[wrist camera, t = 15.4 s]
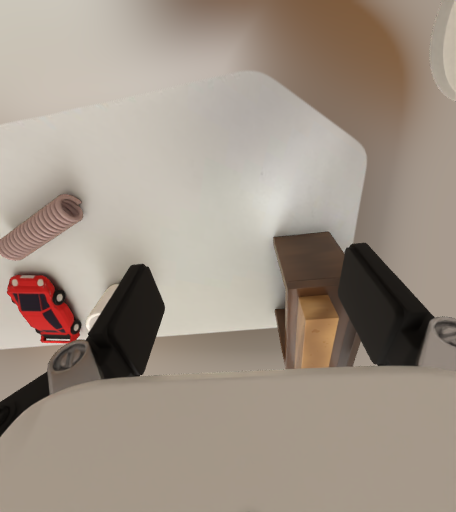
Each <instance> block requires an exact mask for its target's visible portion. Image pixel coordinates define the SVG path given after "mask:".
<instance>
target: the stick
mask: <svg viewBox="0 0 456 512" xmlns="http://www.w3.org/2000/svg"><path fill="white" fill-rule="evenodd" d="M338 320H339V317H338V315H337V312H336V310H335V308H334V306H333V304H332V302H331V300H330V298H329V296H328V295H318V296H305V297H298V312H297V329H296V347H295V365H294V368H295V369H303V368H328V367H329V363H330V358H331V353H332V349H333V344H334V339H335V334H336V330H337V325H338Z"/></svg>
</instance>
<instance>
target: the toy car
mask: <svg viewBox="0 0 456 512" xmlns="http://www.w3.org/2000/svg"><path fill="white" fill-rule="evenodd" d="M7 289H8V291H7V294H8V295H9V296H10V297H11V299H12V302H13V303H15V304H17V306H18V309H19V311H20V312H21V314H22V315H23V317H24V318H25V319H26V320H27V322H28V323H29V324H30V326H31V327H33V328H35V330H36V332H37V333H39V334H41V340H40V341H41V342H42V343H70V342H72V341H75V340H77V338H78V337H79V336H80V334H79V332H80V328H81V323H80V321H78V320H75V321H74V316H73V314H72V312H71V311H70V309H69V307H68V305H67V304H65V303H64V300H65V293H64V291H62V290H57V291H55V288H54V286H53V284H52V283H51V281H50V280H49V279H48V278H47V277H45V276H42V275H15V276H13V277H11V279H10V281H9V285H8V288H7ZM46 338H49V339H70V341H51V340H46Z"/></svg>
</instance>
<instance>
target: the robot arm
mask: <svg viewBox="0 0 456 512" xmlns="http://www.w3.org/2000/svg"><path fill="white" fill-rule="evenodd" d="M338 297H339V299H340V301H341V303H342V305H343V307H344V309H345V311H346V313H347V315H348V317H349V319H350V321H351V323H352V324H353V326H354V328H355V330H356V332H357V334H358V336H359V338H360V340H361V342H362V343H363V346H364V347H365V349H366V351H367V353H368V355H369V357H370V359H371V361H372V362H373V363H374V364H377V365H378V366H356V367H328V368H303V369H281V370H257V371H235V372H213V373H193V374H174V375H154V376H140V375H142V374H143V373H144V371H145V368H146V365H147V362H148V359H149V356H150V353H151V350H152V347H153V344H154V341H155V338H156V335H157V332H158V329H159V326H160V323H161V320H162V317H163V314H164V311H165V305H164V302H163V300H162V298H161V295H160V293H159V290H158V288H157V286H156V283H155V281H154V278H153V276H152V273H151V271H150V269H149V267H146V266H145V265H144V264H137V265H131V266H130V267H129V269H128V271H127V272H126V274H125V275H124V277H123V279H122V280H121V282H120V283H119V285H118V287H117V288H116V290H115V291H114V293H113V295H112V296H111V298H110V299H109V301H108V302H107V304H106V306H105V307H104V309H103V310H102V312H101V314H100V315H99V317H98V318H97V320H96V322H95V323H94V325H93V326H92V328H91V330H90V331H89V333H88V335H89V336H88V337H87V339H86V340H75V341H72V342H70V343H68V344H66V345H64V346H63V347H61V348H60V349H59V350H58V351H57V352H56V353H55V354H54V355H53V356H52V358H51V359H50V361H49V363H48V369H47V372H46V373H44V374H43V375H41V376H40V377H38V378H37V379H35V380H34V381H32V382H30V383H29V384H27V385H26V386H24V387H23V388H21V389H20V390H18V391H17V392H15V393H13V394H12V395H10V396H9V397H7V398H6V399H4V400H3V401H1V402H0V512H456V319H455V318H452V317H443V316H442V317H436V318H435V317H434V316H433V315H432V314H431V313H430V312H429V311H428V310H427V309H426V308H425V307H424V305H423V304H422V303H421V302H420V301H419V300H418V299H417V298H416V297H415V296H414V294H413V293H412V292H411V291H410V290H409V289H408V288H407V287H406V286H405V285H404V284H403V282H402V281H401V280H400V279H399V278H398V277H397V276H396V275H395V274H394V273H393V272H392V271H391V270H390V269H389V268H388V266H387V265H386V264H385V263H384V262H383V261H382V260H381V259H380V258H379V256H378V255H377V254H376V253H375V252H374V251H373V250H372V249H371V248H370V247H369V245H368V244H366V243H358V244H351V245H350V247H349V248H346V250H345V255H344V261H343V266H342V271H341V276H340V282H339V287H338Z"/></svg>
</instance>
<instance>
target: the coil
mask: <svg viewBox="0 0 456 512" xmlns="http://www.w3.org/2000/svg"><path fill="white" fill-rule="evenodd" d="M80 203H82V202H81V201H80V200H79V199H77V198H76V197H74V196H71V195H67V194H62V195H60V196H58V197H57V198H56V199H54V200H53V201H52V202H50V203H49V204H47V205H46V206H45V207H43V208H42V209H41V210H39V211H38V212H37V213H35V214H34V215H33V216H31V217H30V218H29V219H27V220H26V221H24V222H23V223H22V224H20V225H19V226H18V227H16V228H15V229H14V230H13V231H11V232H10V233H8V234H7V235H6V236H4V237H3V238H2V239H0V254H1V255H2V256H3V257H5V258H7V259H9V260H15V261H16V260H21V259H23V258H25V257H26V256H28V255H29V254H31V253H32V252H34V251H35V250H37V249H38V248H40V247H41V246H43V245H44V244H46V243H47V242H49V241H51V240H52V239H53V238H55V237H56V236H58V235H59V234H61V233H62V232H64V231H66V230H67V229H69V228H70V227H71V226H73V225H74V224H76V223H77V222H79V221H81V220H82V218H83V212H82V210H81V208H80V207H79V206H78V205H79V204H80ZM77 204H78V205H77Z"/></svg>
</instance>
